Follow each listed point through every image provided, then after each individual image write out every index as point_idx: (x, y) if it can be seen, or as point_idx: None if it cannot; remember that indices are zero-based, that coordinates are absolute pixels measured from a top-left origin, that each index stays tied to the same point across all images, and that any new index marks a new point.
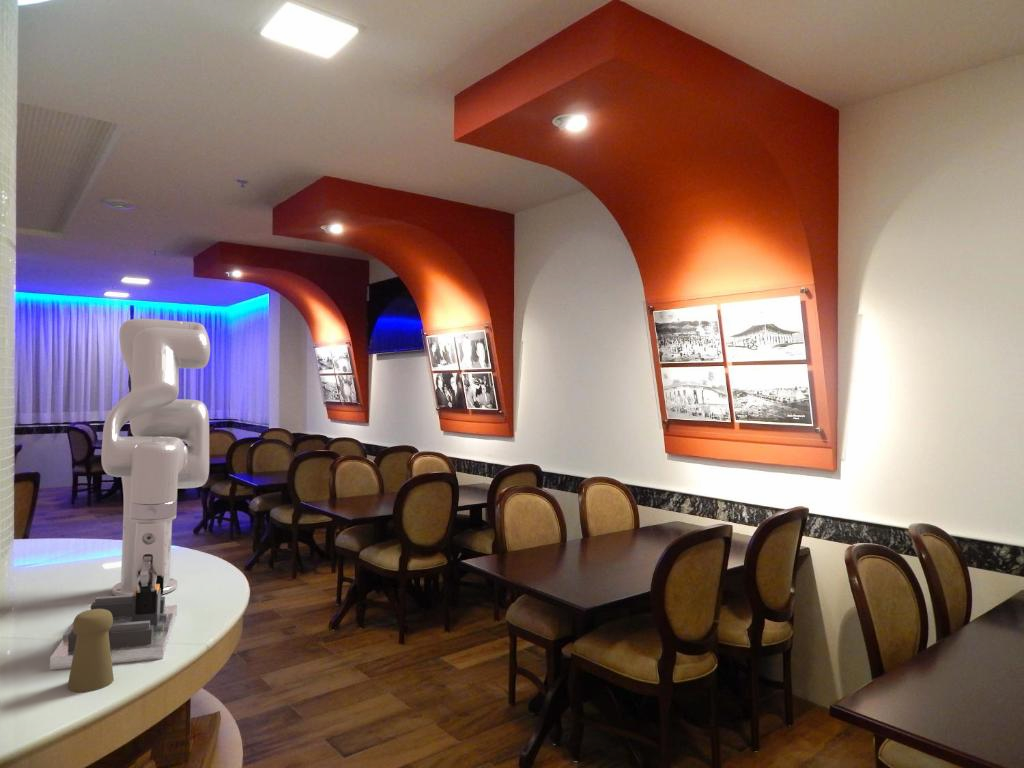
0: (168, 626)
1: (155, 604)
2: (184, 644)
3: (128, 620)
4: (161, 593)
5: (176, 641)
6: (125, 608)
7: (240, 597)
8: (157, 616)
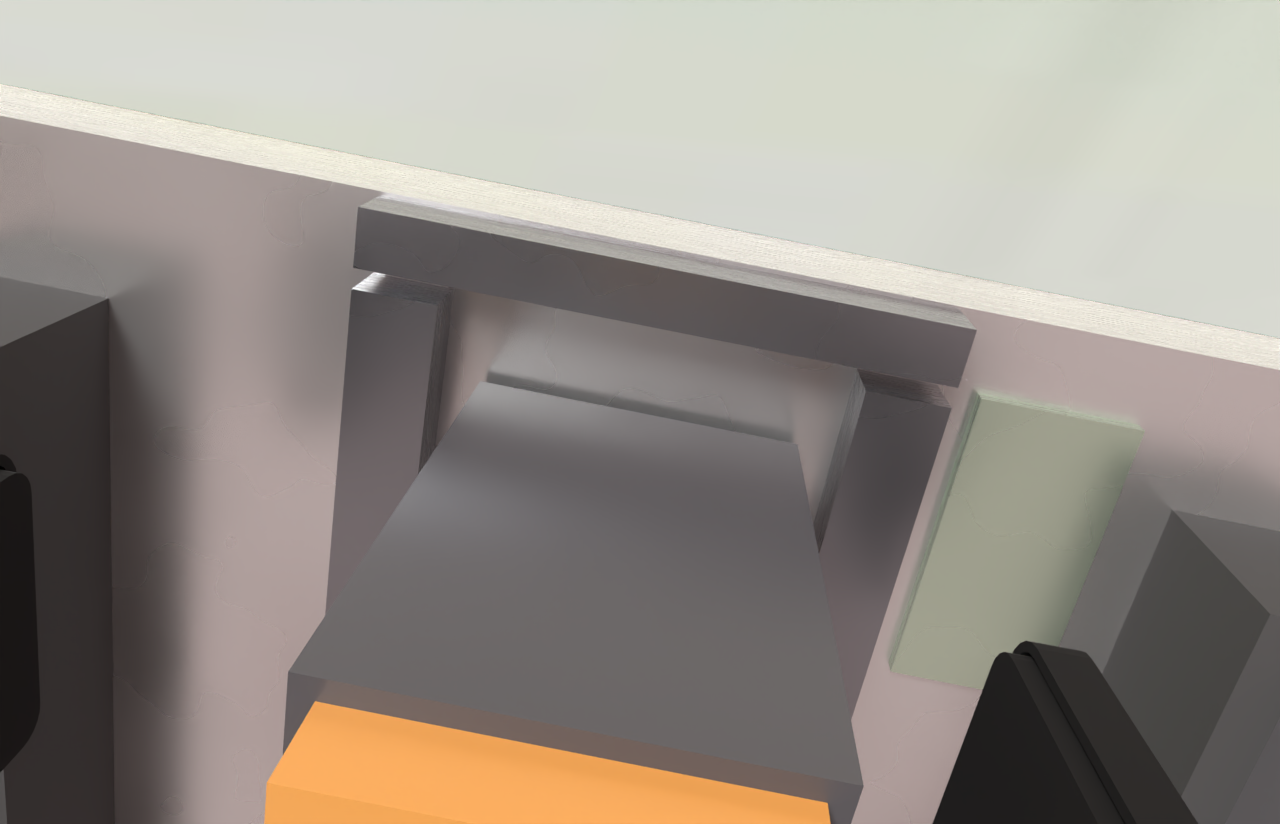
0: (936, 318)
1: (1152, 760)
2: (1129, 81)
3: None
4: (11, 480)
5: (952, 167)
6: (56, 771)
7: None
8: (760, 502)
